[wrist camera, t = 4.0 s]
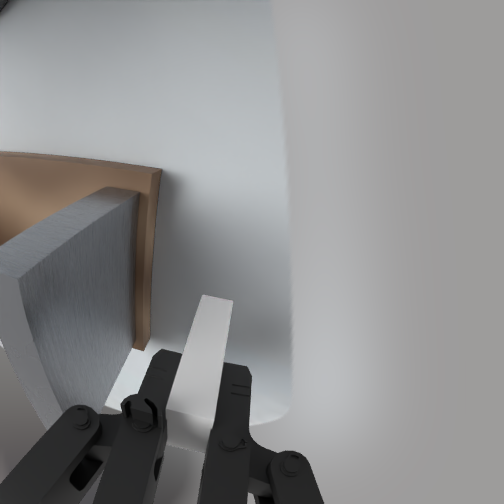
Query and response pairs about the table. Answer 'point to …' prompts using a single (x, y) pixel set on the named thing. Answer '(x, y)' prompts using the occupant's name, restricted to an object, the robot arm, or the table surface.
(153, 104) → the table surface
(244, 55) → the table surface
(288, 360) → the table surface
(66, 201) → the shelf
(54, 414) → the bookend
